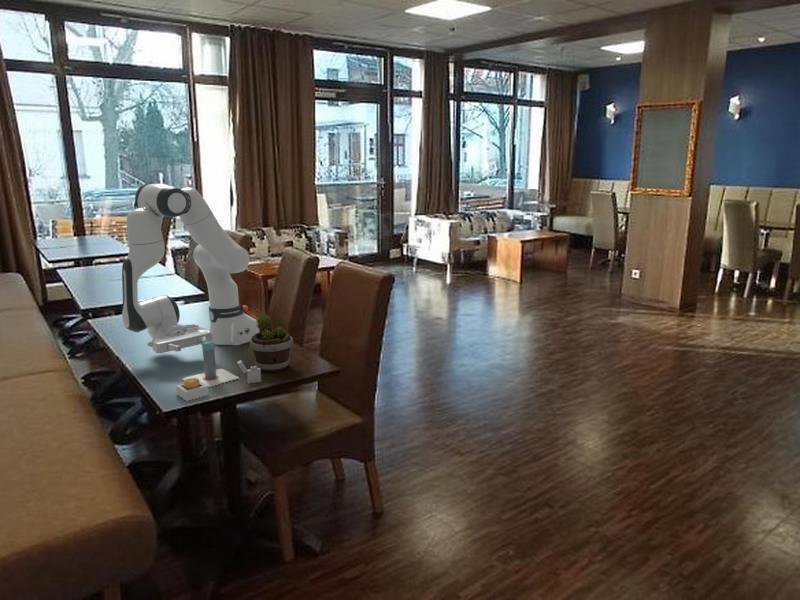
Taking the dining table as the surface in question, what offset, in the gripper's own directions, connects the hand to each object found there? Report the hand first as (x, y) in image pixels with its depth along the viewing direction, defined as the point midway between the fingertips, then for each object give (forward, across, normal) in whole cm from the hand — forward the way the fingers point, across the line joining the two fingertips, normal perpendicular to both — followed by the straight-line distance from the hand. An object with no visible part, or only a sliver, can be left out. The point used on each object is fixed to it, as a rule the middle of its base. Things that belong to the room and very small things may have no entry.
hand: (192, 345), depth 198 cm
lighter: (+23, +8, +9) cm, 26 cm away
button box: (+20, -10, +9) cm, 24 cm away
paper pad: (+12, 0, +9) cm, 15 cm away
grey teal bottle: (+12, 0, +8) cm, 15 cm away
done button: (+20, -10, +6) cm, 23 cm away
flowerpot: (+16, +21, +9) cm, 28 cm away
